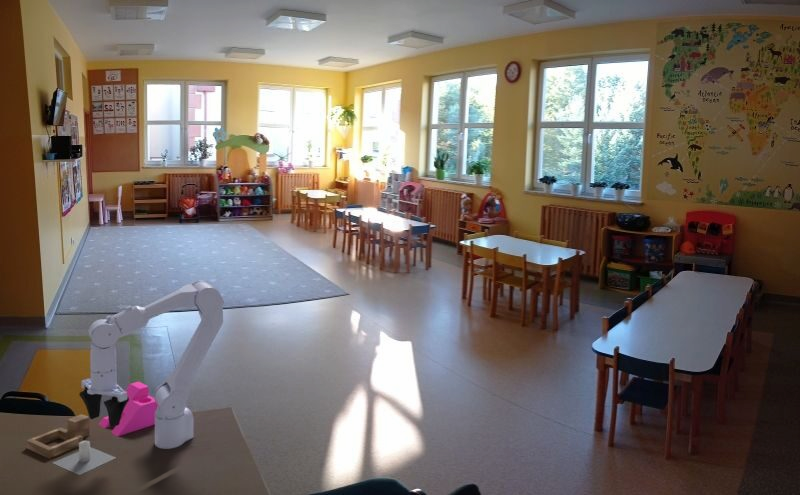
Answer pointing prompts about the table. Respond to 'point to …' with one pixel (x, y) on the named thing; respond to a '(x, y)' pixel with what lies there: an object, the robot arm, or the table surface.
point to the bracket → (135, 411)
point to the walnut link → (61, 437)
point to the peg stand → (84, 459)
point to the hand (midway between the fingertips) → (104, 421)
